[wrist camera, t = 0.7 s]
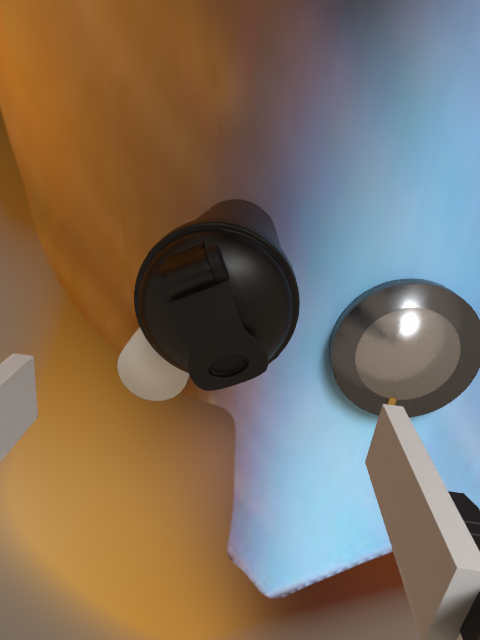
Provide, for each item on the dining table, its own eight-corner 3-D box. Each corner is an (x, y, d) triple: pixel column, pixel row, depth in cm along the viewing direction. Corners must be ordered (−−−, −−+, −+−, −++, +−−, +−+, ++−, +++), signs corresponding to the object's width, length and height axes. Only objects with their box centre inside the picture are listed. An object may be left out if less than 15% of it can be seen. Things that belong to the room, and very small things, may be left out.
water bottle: (211, 301, 47) (166, 428, 25) (171, 213, 43) (81, 275, 22) (298, 268, 45) (329, 376, 24) (264, 174, 42) (263, 200, 20)
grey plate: (347, 268, 45) (351, 273, 43) (498, 291, 45) (508, 297, 43) (316, 397, 51) (318, 407, 49) (448, 417, 51) (455, 428, 49)
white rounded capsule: (141, 303, 47) (118, 332, 40) (203, 313, 47) (192, 343, 40) (138, 358, 50) (116, 395, 43) (197, 367, 50) (185, 405, 43)
